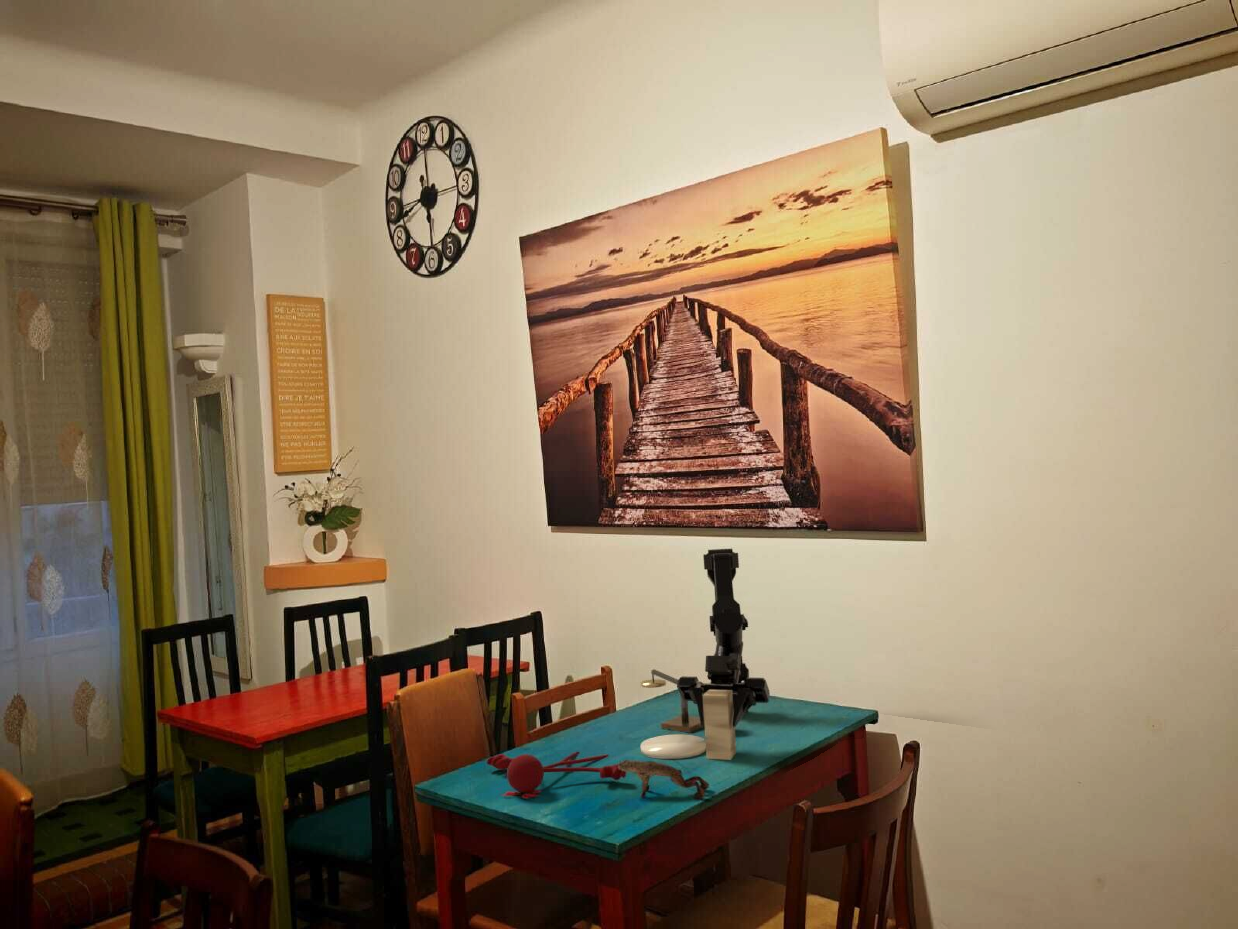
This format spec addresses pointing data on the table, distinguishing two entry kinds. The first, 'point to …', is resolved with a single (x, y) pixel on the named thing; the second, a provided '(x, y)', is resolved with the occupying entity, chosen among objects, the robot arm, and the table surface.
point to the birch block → (719, 724)
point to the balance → (683, 721)
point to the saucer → (673, 746)
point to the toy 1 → (529, 771)
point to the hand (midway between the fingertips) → (717, 725)
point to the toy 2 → (662, 770)
